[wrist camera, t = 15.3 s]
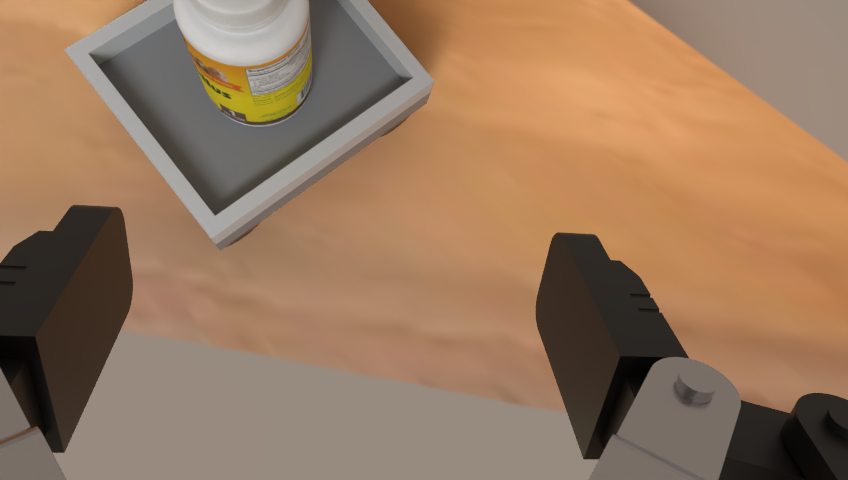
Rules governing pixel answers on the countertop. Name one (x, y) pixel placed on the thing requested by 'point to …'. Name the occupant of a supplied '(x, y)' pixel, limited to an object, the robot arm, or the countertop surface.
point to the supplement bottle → (250, 55)
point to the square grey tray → (241, 144)
